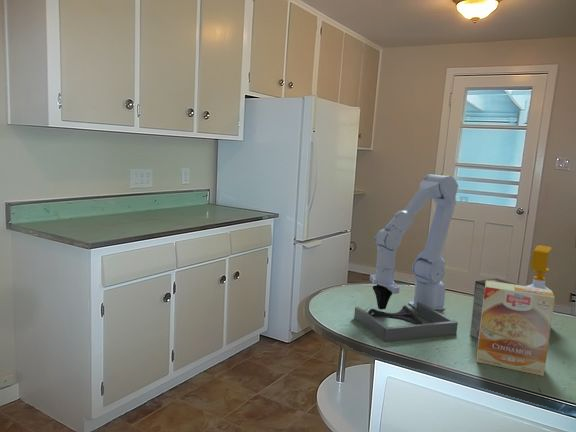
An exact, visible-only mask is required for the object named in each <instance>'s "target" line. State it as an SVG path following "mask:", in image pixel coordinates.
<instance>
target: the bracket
mask: <svg viewBox="0 0 576 432" xmlns="http://www.w3.org/2000/svg"><path fill="white" fill-rule="evenodd" d="M367 313H368V314H370V315H371V316H373V317H374V318H394V319H396V318H397V319H399V320H400V319H401V320H404V321H407V322H409V323H412V324H413V325H417V324H424V322H423V321H422V320H421V319H420V318H419V317H418V316H417V315H416V314H415V313H414V312H413V311H412V310H411V309H410V308H409V307H408V306H407V305H403V306H402V307H401V309H400V310H399V311H397V312H386V311H385V312H384V311H382V310H377V309H375V308H370V309H369V310H368V312H367Z"/></svg>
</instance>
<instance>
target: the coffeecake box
mask: <svg viewBox="0 0 576 432" xmlns="http://www.w3.org/2000/svg"><path fill="white" fill-rule="evenodd" d="M485 280H486V283H485V290H484V298H483V307H482V315H481V323H480V330H479V339H478V338H477V339H478V340H477V341H478V342H477V347H476V348H477V350H476V363H480V364H485V365H490V366H495V367H500V368H504V369H508V370H512V371H518V372H523V373H528V374H532V375H537V376H541V377H544V376H545V371H546V364H547V357H548V356H547V355H548V350H549V342H550V335H551V328H552V323H553V321H552V320H553V314H554V308H555V298H556V297H555V295H553V294H554V292H553V290H552V289H550V290H548V289H549V288H548V289H541V288H534V287H528V286H527V285H520V284H516V285H514V284H515V283H514V284H508V283H501V282H494V281H488V279H485Z"/></svg>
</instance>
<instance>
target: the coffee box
mask: <svg viewBox="0 0 576 432" xmlns="http://www.w3.org/2000/svg"><path fill="white" fill-rule="evenodd" d="M486 280H488V281H494V282H501V283H508V284H514V285H517V284H516V283H514V282H510V281H508V280H503V279H500V278H491V279H481V280H475V283H474V293H473V303H472V312H471V313H472V314H471V320H470V321H471V322H470V323H471V324H470V332H469V335H470V336H471V337H475V338H476V339H479V330H480V323H481V315H482V307H483V298H484V290H485V283H486Z"/></svg>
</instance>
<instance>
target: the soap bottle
mask: <svg viewBox="0 0 576 432" xmlns="http://www.w3.org/2000/svg"><path fill="white" fill-rule="evenodd" d="M552 249H553V248H552V246H549V245H547V246H546V245H540V244H538V245H536V246H535V248H534V250H533V252H532V257H531V258H532V259H531V264H530V269H531V270H534V271H535V273H536V276H535V275H534V276H533V278H532V283H531V284H528V285H527V284H526V286H528V287H534V288H541V289H548V290H551V289H550V288H549V287H547V286H546V277H544V274H546V273H548V272H549V271H550V268H547V266H548V258H549V255H550V253H551V251H552ZM553 295H554V293H553ZM554 296H555V295H554Z"/></svg>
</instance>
